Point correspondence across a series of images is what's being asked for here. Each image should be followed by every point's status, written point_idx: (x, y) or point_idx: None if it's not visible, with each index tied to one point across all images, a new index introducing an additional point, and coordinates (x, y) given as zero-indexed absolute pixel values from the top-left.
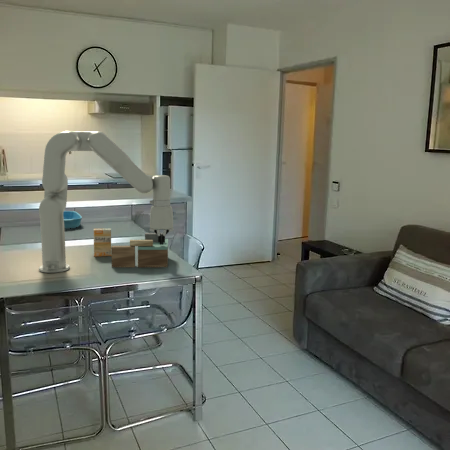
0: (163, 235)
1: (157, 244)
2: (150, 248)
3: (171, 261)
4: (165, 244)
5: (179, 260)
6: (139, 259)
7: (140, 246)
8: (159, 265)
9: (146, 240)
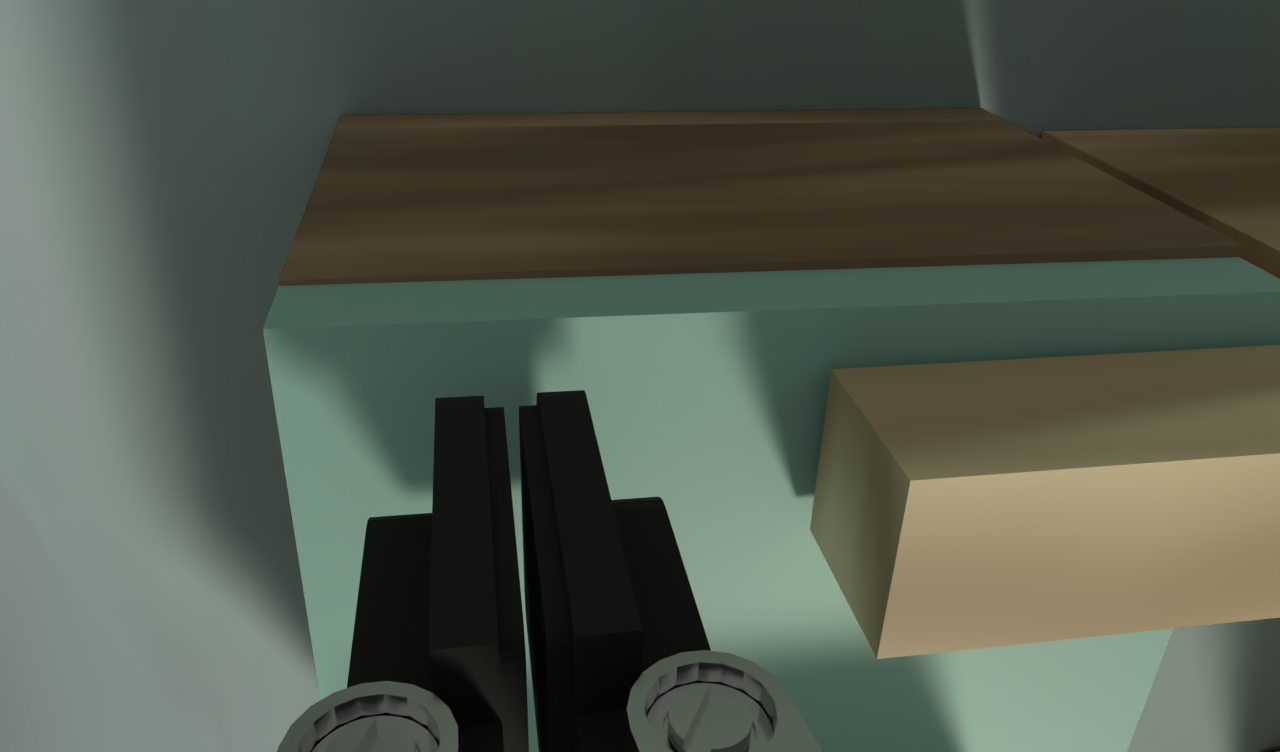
0: (421, 702)
1: None
2: (886, 285)
3: None
4: None
5: (160, 631)
6: (1041, 157)
7: None
8: (532, 122)
9: (1140, 520)
